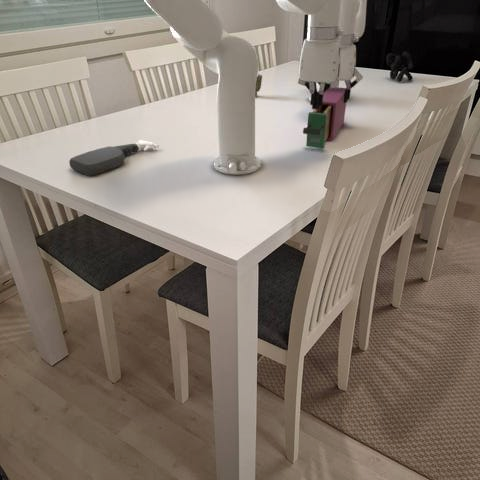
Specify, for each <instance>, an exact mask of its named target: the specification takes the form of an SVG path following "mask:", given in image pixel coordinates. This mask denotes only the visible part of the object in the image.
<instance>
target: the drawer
mask: <svg viewBox="0 0 480 480" xmlns="http://www.w3.org/2000/svg"><path fill="white" fill-rule="evenodd" d="M307 115H308V116H307V126H306V127H304V128H303V129H302V134H304V135H306V145H305V146H306V147H310V148H318V149H324V148H325V144H326V141H327V140H326V139H327V138H328V137H329V135H330V134H331V125H332V115H333V105H327V104H322V106H320V108H319V109H318V110H317V109H315V110H314V109H313V111H309V112H308V114H307Z"/></svg>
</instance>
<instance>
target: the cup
mask: <svg viewBox="0 0 480 480" xmlns="http://www.w3.org/2000/svg"><path fill="white" fill-rule="evenodd" d="M262 80H263V74H260V73H258V74H257V80H256V89H255V97H257V96H258V92H260V91H261V87H262V82H263V81H262Z"/></svg>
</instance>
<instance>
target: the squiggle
mask: <svg viewBox="0 0 480 480" xmlns="http://www.w3.org/2000/svg"><path fill="white" fill-rule="evenodd" d="M401 57H402V59H401ZM391 59H392V60H391ZM393 60H394V61H393ZM385 61H386V64H387V67H390V68H391V70H390V72H389V78H390V79H391V80H395V79H396V81H397V82H399V83H400V82H402V81H403V79H404V76H406V78H407V80H408V81H412V80H413V79H414V77H413V75H412V74H411V73H410V72H409V71H410V70H412V69H413V68H414V64H413V61H412V57H411V54H410V53H409V52H408V51H403V53H402V54H401V55H396V54H394V53H392V52H390V53H387V55H386V57H385ZM406 62H407V65H408V66H407V67H405V66H404V65H405V64H406ZM400 70H401V71H400Z"/></svg>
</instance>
